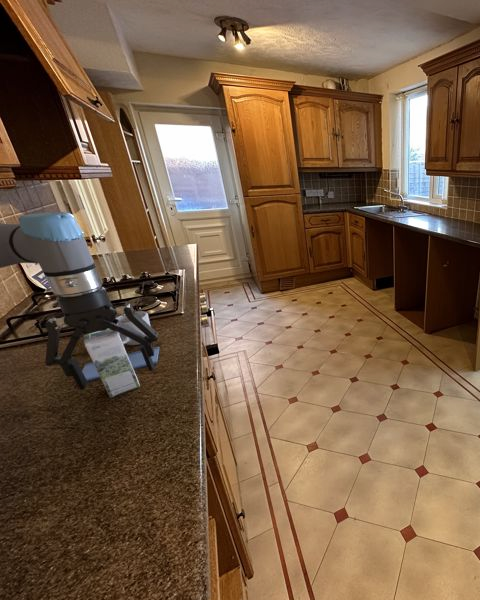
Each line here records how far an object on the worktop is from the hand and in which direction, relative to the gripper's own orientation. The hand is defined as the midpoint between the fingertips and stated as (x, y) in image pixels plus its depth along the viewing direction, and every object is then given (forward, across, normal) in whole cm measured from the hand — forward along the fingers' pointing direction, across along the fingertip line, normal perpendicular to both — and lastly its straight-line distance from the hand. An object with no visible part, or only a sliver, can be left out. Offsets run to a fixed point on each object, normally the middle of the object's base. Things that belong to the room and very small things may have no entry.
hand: (119, 376), depth 75 cm
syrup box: (+3, 0, 0) cm, 3 cm away
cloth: (+3, -2, +12) cm, 13 cm away
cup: (+3, 0, +23) cm, 23 cm away
